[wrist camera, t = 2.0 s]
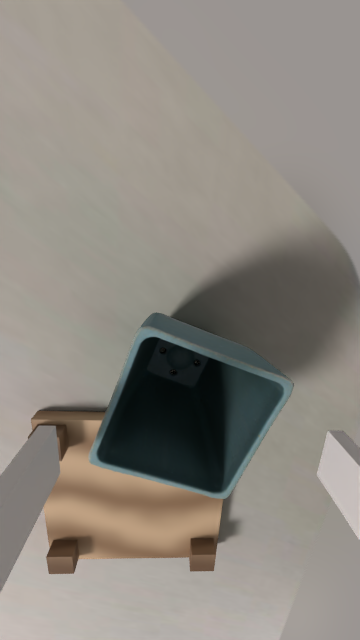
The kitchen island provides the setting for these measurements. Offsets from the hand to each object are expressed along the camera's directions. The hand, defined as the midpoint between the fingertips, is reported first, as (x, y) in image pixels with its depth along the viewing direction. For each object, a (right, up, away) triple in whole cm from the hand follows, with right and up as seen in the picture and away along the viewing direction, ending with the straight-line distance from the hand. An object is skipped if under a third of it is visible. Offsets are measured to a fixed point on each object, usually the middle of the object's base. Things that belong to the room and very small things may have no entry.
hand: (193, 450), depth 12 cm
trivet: (-5, -11, +14) cm, 18 cm away
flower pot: (-1, +3, +10) cm, 11 cm away
